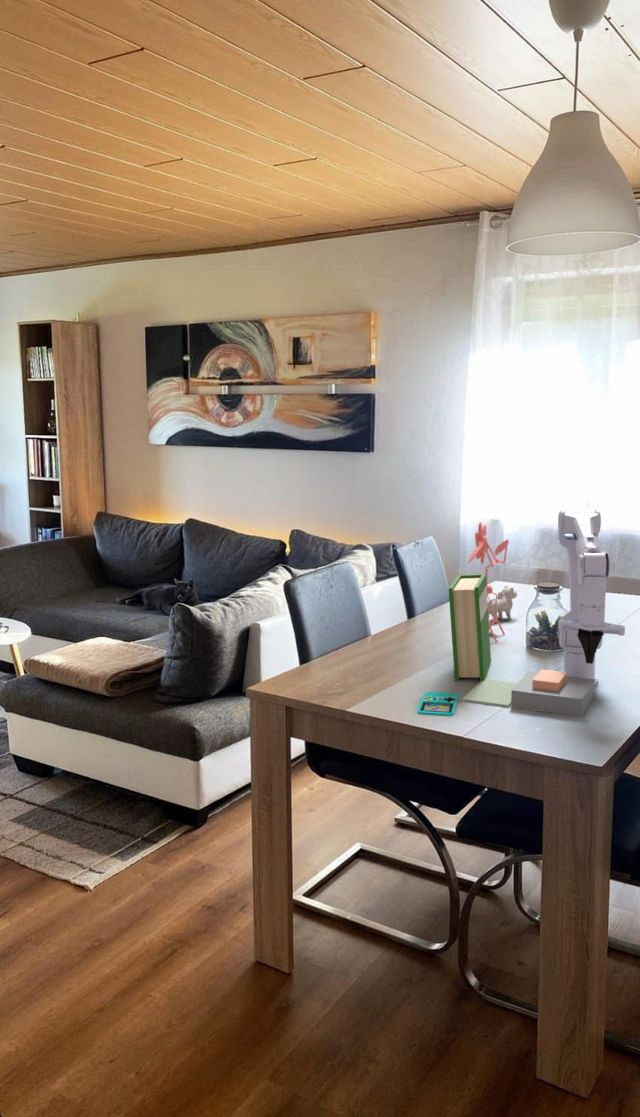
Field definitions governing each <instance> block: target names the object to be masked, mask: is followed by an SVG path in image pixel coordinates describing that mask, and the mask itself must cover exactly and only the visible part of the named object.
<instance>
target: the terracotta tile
mask: <svg viewBox="0 0 640 1117" xmlns="http://www.w3.org/2000/svg"><path fill="white" fill-rule="evenodd" d="M537 673H538V674H537V675H536V676H535V678H534V679H533V682H532V688H535V689H543V690H551V691H559V690H560V689H561V687H562V686H563V684H564V683H565V682H566V677H567V672H564V671H556V670H550V669H549V670H548V669H540V670H539V672H537Z"/></svg>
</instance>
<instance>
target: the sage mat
mask: <svg viewBox="0 0 640 1117" xmlns="http://www.w3.org/2000/svg"><path fill="white" fill-rule="evenodd" d="M517 683H518V682H511V681H503V680H502V681H501V680H495V679H488V678H487V679H486V678H485V680H484V681H481V680H480V681H479V683H477V684H476V685H474V687H473V688H472V689H471V690H470V691H469V692H468V693H467V694H466V695H465V696H464V697H463V698H462V702H469V703H474V704H475V703H477V704H483V705H491V706H495V707H496V706H497V707H505V708H509V707H511V690H512V689H513V688H514V687H515V686H516V685H517Z"/></svg>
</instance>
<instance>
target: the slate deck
mask: <svg viewBox="0 0 640 1117" xmlns="http://www.w3.org/2000/svg"><path fill="white" fill-rule="evenodd" d="M538 673H539V672H535V671H527V672H526V673H525V674H524V675H523V677H522V678H521V679H520V680H519V681H518V682H516V683H517V685H516V686H515V687H514V688H513V689H512V690H511V705H510V707H512V708H518V709H523V710H530V711H532V710H533V711H540V712H546V713H547V712H548V713H554V714H560V715H567V716H575V717H581V716H582V717H583V715H584V713H585V712H586V710H587V708H588V707H589V705H590V703H591V702H592V701H593V699H594V697H595V686H596V685H595V679H587V678H579V677H570V676H567V677H566V682H565V683H564V684H563V686H562V687H561V689H560V690H559V691H551V690H543V689H535V688H532V682H533V679H534V678H535V676H536V675H537V674H538Z"/></svg>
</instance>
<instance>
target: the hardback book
mask: <svg viewBox="0 0 640 1117" xmlns="http://www.w3.org/2000/svg"><path fill="white" fill-rule="evenodd" d="M448 599H449V600H448V602H449V614H450V628H451V630H450V631H451V644H452V658H453V675H454V681H455V682H457V681H460V678H480V681H484V680H485V679H486V677H487V674H488V670H489V668H490V665H491V662H492V656H491V655H492V652H491V639H490V638H491V637H490V636H491V635H490V629H489V621H490V620H488V604H487V601H488V597H487V587H486V573H485V574H484V573H483V574H482V573H481V574H479V573H478V574H458V575H457V576H456V577H455V579H454V580H453V581H452V583H451V584H450V586H449V587H448Z"/></svg>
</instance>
